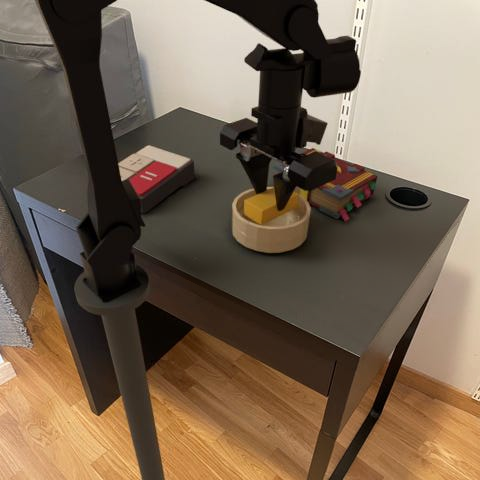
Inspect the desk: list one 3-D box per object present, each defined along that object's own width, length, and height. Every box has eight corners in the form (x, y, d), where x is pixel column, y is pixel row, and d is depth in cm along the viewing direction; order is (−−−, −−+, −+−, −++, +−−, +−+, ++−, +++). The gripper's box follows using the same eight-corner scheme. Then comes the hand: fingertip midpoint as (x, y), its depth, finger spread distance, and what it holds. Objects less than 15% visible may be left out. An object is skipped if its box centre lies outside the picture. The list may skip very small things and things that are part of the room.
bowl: (268, 266, 73) (270, 238, 69) (216, 230, 79) (216, 203, 75) (322, 236, 78) (326, 209, 75) (270, 205, 85) (272, 179, 81)
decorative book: (310, 168, 95) (313, 143, 92) (379, 200, 87) (385, 174, 84) (271, 187, 89) (273, 162, 86) (341, 223, 81) (346, 197, 78)
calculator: (91, 176, 83) (147, 141, 92) (97, 198, 86) (150, 161, 95) (141, 195, 79) (194, 156, 88) (145, 217, 82) (196, 177, 91)
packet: (261, 225, 73) (262, 211, 71) (243, 214, 75) (244, 200, 73) (297, 207, 77) (299, 193, 75) (280, 197, 79) (281, 183, 77)
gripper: (373, 108, 63) (351, 212, 74) (274, 70, 73) (267, 166, 84) (316, 130, 58) (301, 238, 69) (217, 86, 67) (217, 187, 78)
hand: (271, 204), depth 75 cm, fingers closed on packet, 4 cm apart
